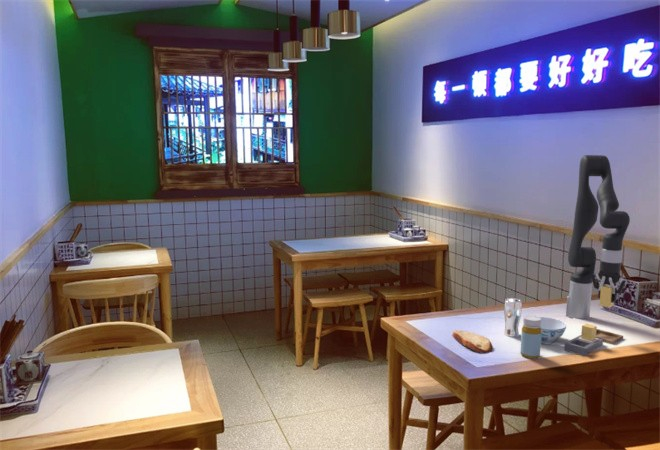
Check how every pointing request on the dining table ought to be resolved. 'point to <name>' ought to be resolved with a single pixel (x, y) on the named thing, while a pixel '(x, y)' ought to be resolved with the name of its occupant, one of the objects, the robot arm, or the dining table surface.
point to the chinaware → (551, 329)
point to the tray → (608, 336)
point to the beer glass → (512, 316)
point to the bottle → (531, 337)
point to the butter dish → (584, 341)
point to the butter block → (606, 296)
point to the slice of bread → (473, 341)
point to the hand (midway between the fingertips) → (607, 300)
